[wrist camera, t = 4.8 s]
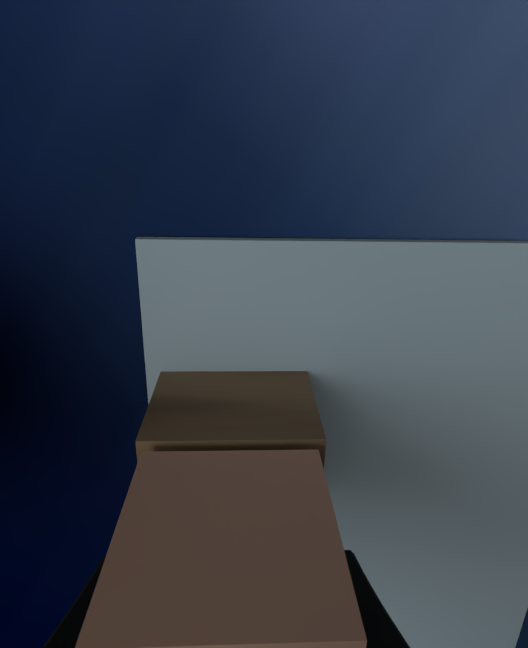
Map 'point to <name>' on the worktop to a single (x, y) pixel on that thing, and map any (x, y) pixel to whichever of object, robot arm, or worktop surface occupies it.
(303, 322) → the mat
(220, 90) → the worktop surface
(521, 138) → the worktop surface
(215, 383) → the walnut block
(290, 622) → the terracotta block
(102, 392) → the worktop surface
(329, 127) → the worktop surface
